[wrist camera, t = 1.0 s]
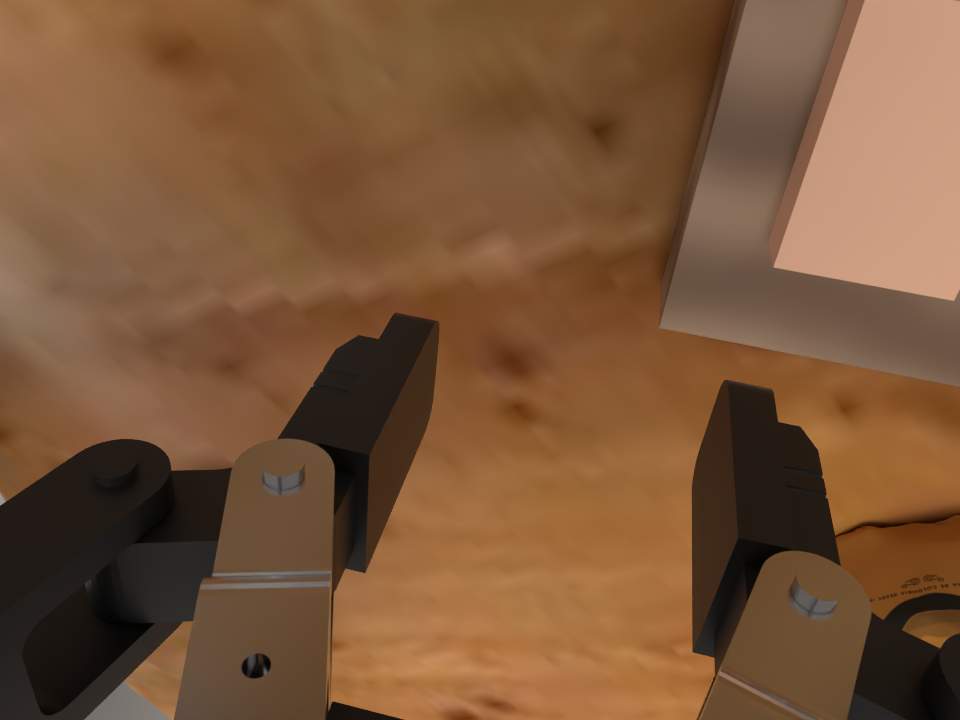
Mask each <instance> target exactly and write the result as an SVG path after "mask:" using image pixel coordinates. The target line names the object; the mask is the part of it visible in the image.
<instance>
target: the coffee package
mask: <svg viewBox="0 0 960 720" xmlns="http://www.w3.org/2000/svg"><path fill="white" fill-rule="evenodd" d="M836 543H837V548H838V553H839V558H840V563H841V567H842V568H844V569H845V570H846V571H847V572H849V573H850V574H851V575H852V576H853V577H854V578H855V579H856V580H857V581H858V582H859V583H860V585H861V586H862V587H863V589H864V590H865V592H866V594H867V596H868V598H869V601H870V604H871V610H872V612H873V613H874V614H876V615H877V616H878V617H880V618H881V619H883V620H884V621H886V622H887V623H889V624H891V625H893V626H895V627H897V628H899V629H901V630H903V631H905V632H907V633H909V634H911V635H913V636H915V637H917V638H920V639H922V640H924V641H926V642H928V643H930V644H932V645H934V646H936V647H938V648H941V646H942V645H943V643H944V642H945V641H946V640H947V639H948V638H949V637H951V636H953V635H956V634H959V633H960V515H955V516H952V517H950V518H948V519H946V520H944V521H939V522H936V523H928V524H925V523H909V524H906V525H901V526H898V527H887V528H878V527H874V526H865V527H861V528H857V529H856V530H855V531H854V532H851V533H847V534H843V535H840V536H838V537H836Z"/></svg>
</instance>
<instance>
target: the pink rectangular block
mask: <svg viewBox="0 0 960 720" xmlns="http://www.w3.org/2000/svg"><path fill="white" fill-rule="evenodd" d="M769 246H770V251H771V257H772V262H773V267H774V268H779V269H785V270H790V271H796V272H801V273H806V274H812V275H817V276H823V277H828V278H833V279H839V280H844V281H850V282H855V283H860V284H866V285H871V286H876V287H882V288H887V289H893V290H898V291H903V292H909V293H914V294H920V295H925V296H930V297H936V298H941V299H947V300H952V301H954V300H955V298H956V296H957V294H958V292H959V290H960V0H848V2H847V5H846V8H845V11H844V14H843V17H842V20H841V23H840V26H839V29H838V32H837V35H836V38H835V41H834V44H833V47H832V50H831V53H830V56H829V59H828V62H827V66H826V69H825V72H824V75H823V78H822V81H821V84H820V87H819V90H818V93H817V96H816V99H815V102H814V105H813V108H812V111H811V114H810V117H809V120H808V123H807V126H806V129H805V132H804V135H803V138H802V141H801V144H800V147H799V150H798V153H797V156H796V159H795V162H794V165H793V168H792V171H791V174H790V177H789V180H788V183H787V186H786V189H785V192H784V195H783V198H782V201H781V204H780V207H779V210H778V213H777V216H776V219H775V222H774V225H773V228H772V231H771V234H770V237H769Z"/></svg>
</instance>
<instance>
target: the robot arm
mask: <svg viewBox="0 0 960 720" xmlns="http://www.w3.org/2000/svg"><path fill="white" fill-rule="evenodd" d="M438 341H439V322H438V321H434V320H430V319H425V318H420V317H415V316H410V315H405V314H400V313H395V314H394V315H393V316H392V318H391V319H390V321H389V323H388V324H387V326H386V328H385V329H384V331H383V333H382V335H381V336H380V338H379V339H375V338H370V337H365V336H360V335H358V336H357V337H355V338H354V339H352V340H350V341H349V342H347V343H345V344H344V345H342V346H341V347H339V348H337V349H336V350H335V352H334V353H333V355H332V356H331V358H330V359H329V361H328V362H327V364H326V365H325V367H324V370H323V372H321V373H320V375H319V376H318V378H317V379H316V381H315V382H314V386H313V387H311V388H310V390H309V391H308V393H307V395H306V396H305V398H304V399H303V401H302V402H301V404H300V405H299V407H298V408H297V410H296V411H295V413H294V414H293V416H292V418H291V419H290V421H289V422H288V424H287V425H286V427H285V428H284V430H283V431H282V433H281V434H280V436H279V437H278V439H275V440H269V441H266V442H262V443H260V444H257V445H255V446H253V447H251V448H249V449H248V450H246V451H245V452H244V453H243V454H241V455H240V456H239V458H238V459H237V460H236V461H235V463H234V465H233V467H232V468H227V469H219V470H185V471H171V464H170V461H169V458H168V456H167V455H166V453H165V452H164V451H163V450H162V449H161V448H159V447H157V446H156V445H154V444H151V443H149V442H145V441H141V440H134V439H119V440H111V441H107V442H102V443H99V444H96V445H93V446H91V447H89V448H86V449H84V450H83V451H81V452H79V453H78V454H76V455H75V456H73V457H72V458H70V459H69V460H67V461H66V462H64V463H63V464H61V465H60V466H58V467H57V468H55V469H54V470H52V471H51V472H49V473H48V474H47V475H45V476H44V477H42V478H41V479H39V480H38V481H36V482H35V483H33V484H32V485H30V486H29V487H27V488H26V489H24V490H23V491H21V492H20V493H18V494H17V495H16V496H14V497H13V498H11V499H10V500H8V501H7V502H5V503H4V504H2V505H1V506H0V720H84V719H85V718H86V717H87V716H88V715H89V714H90V713H91V712H92V711H93V710H94V709H95V708H96V707H97V706H98V705H99V704H101V703H102V702H103V700H104V699H106V698H107V697H108V696H109V695H110V694H111V693H112V692H113V691H114V690H115V689H116V688H117V687H118V686H119V685H120V684H121V683H122V682H123V681H124V680H125V679H126V678H127V677H128V676H129V675H130V674H131V673H132V672H133V671H134V670H135V669H136V668H137V667H138V666H139V665H140V664H141V663H142V662H143V661H144V660H145V659H146V658H147V657H148V656H149V655H151V654H152V653H153V652H154V651H155V650H156V649H157V648H158V647H159V646H160V645H161V644H162V643H163V642H164V641H165V640H166V639H167V638H168V637H169V636H170V635H171V634H172V633H173V632H174V631H175V630H176V629H177V628H178V627H179V626H180V624H181V623H182V622H183V621H193V624H192V629H191V634H190V639H189V644H188V649H187V655H186V660H185V665H184V670H183V675H182V680H181V685H180V691H179V696H178V701H177V706H176V711H175V716H174V720H403V719H399V718H395V717H391V716H387V715H384V714H380V713H376V712H372V711H368V710H364V709H360V708H356V707H352V706H349V705H345V704H341V703H337V702H332V704H331V681H332V648H333V614H334V592H335V590H336V588H337V586H338V583H339V581H340V579H341V577H342V575H343V572H344V570H345V568H346V569H350V570H354V571H359V572H363V573H365V572H366V570H367V568H368V565H369V563H370V561H371V558H372V556H373V554H374V551H375V549H376V546H377V544H378V542H379V539H380V537H381V535H382V532H383V530H384V528H385V525H386V523H387V521H388V518H389V516H390V513H391V511H392V509H393V506H394V504H395V502H396V499H397V497H398V495H399V492H400V490H401V488H402V485H403V483H404V480H405V478H406V476H407V473H408V471H409V469H410V466H411V464H412V462H413V459H414V457H415V454H416V452H417V450H418V447H419V445H420V443H421V440H422V438H423V436H424V433H425V431H426V428H427V425H428V421H429V417H430V413H431V409H432V403H433V396H434V386H435V374H436V363H437V352H438ZM822 475H823V473H822V468H821V463H820V458H819V453H818V450H817V448H816V447H815V446H814V444H813V443H812V442H811V440H810V439H809V438H808V436H807V435H806V434H805V432H804V431H803V430H802V428H801V427H799V426H795V425H790V424H785V423H780V422H778V419H777V412H776V405H775V398H774V393H773V390H772V389H769V388H764V387H759V386H754V385H749V384H744V383H739V382H734V381H729V380H725V381H724V382H723V383H722V385H721V387H720V390H719V393H718V396H717V399H716V402H715V405H714V408H713V411H712V414H711V417H710V420H709V423H708V426H707V429H706V432H705V435H704V438H703V441H702V444H701V447H700V450H699V453H698V457H697V461H696V465H695V470H694V476H693V484H692V627H693V652H694V653H698V654H702V655H706V656H710V657H715V677H714V679H713V681H712V683H711V686H710V688H709V690H708V693H707V695H706V698H705V700H704V702H703V705H702V707H701V710H700V712H699V715H698V717H697V719H696V720H960V633H959V634H956V635H953V636H951V637H949V638H948V639H947V640H946V641H945V642H944V643H943V645H942V646H941V648H938V647H936V646H934V645H932V644H930V643H928V642H926V641H924V640H922V639H920V638H917V637H915V636H913V635H911V634H909V633H907V632H905V631H903V630H901V629H899V628H897V627H895V626H893V625H891V624H889V623H887V622H886V621H884V620H883V619H881V618H880V617H878V616H877V615H876V614H874V613H873V612H872V610H871V604H870V601H869V598H868V596H867V594H866V592H865V590H864V589H863V587H862V586H861V585H860V583H859V582H858V581H857V580H856V579H855V578H854V577H853V576H852V575H851V574H850V573H849V572H847V571H846V570H845V569H844V568H842V567H841V563H840V558H839V553H838V548H837V543H836V538H835V533H834V528H833V523H832V518H831V513H830V508H829V503H828V499H827V498H826V494H827V493H826V488H825V483H824V479H822Z"/></svg>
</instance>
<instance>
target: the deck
mask: <svg viewBox="0 0 960 720" xmlns="http://www.w3.org/2000/svg"><path fill="white" fill-rule="evenodd" d="M847 2H848V0H735V2H734V5H733V9H732V13H731V17H730V21H729V25H728V29H727V32H726V36H725V40H724V44H723V48H722V52H721V56H720V59H719V63H718V67H717V71H716V75H715V79H714V83H713V86H712V90H711V94H710V98H709V102H708V106H707V110H706V113H705V117H704V121H703V125H702V129H701V133H700V137H699V140H698V144H697V148H696V152H695V156H694V160H693V164H692V167H691V171H690V175H689V179H688V183H687V187H686V190H685V194H684V198H683V202H682V206H681V210H680V214H679V217H678V221H677V225H676V229H675V233H674V237H673V241H672V244H671V248H670V252H669V256H668V260H667V264H666V268H665V271H664V275H663V279H662V288H661V305H660V322H659V328H663V329H668V330H673V331H678V332H683V333H688V334H693V335H699V336H704V337H709V338H714V339H719V340H724V341H729V342H734V343H739V344H744V345H749V346H755V347H760V348H765V349H770V350H775V351H780V352H785V353H790V354H795V355H800V356H806V357H811V358H816V359H821V360H826V361H831V362H836V363H841V364H846V365H851V366H856V367H862V368H867V369H872V370H877V371H882V372H887V373H892V374H897V375H902V376H907V377H912V378H918V379H923V380H928V381H933V382H938V383H943V384H948V385H953V386H958V387H960V290H959V292H958V294H957V296H956V298H955V300H954V301H952V300H947V299H941V298H936V297H930V296H925V295H920V294H914V293H909V292H903V291H898V290H893V289H887V288H882V287H876V286H871V285H866V284H860V283H855V282H850V281H844V280H839V279H833V278H828V277H823V276H817V275H812V274H806V273H801V272H796V271H790V270H785V269H779V268H774V267H773V262H772V257H771V251H770V246H769V237H770V234H771V231H772V228H773V225H774V222H775V219H776V216H777V213H778V210H779V207H780V204H781V201H782V198H783V195H784V192H785V189H786V186H787V183H788V180H789V177H790V174H791V171H792V168H793V165H794V162H795V159H796V156H797V153H798V150H799V147H800V144H801V141H802V138H803V135H804V132H805V129H806V126H807V123H808V120H809V117H810V114H811V111H812V108H813V105H814V102H815V99H816V96H817V93H818V90H819V87H820V84H821V81H822V78H823V75H824V72H825V69H826V66H827V62H828V59H829V56H830V53H831V50H832V47H833V44H834V41H835V38H836V35H837V32H838V29H839V26H840V23H841V20H842V17H843V14H844V11H845V8H846V5H847Z"/></svg>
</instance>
